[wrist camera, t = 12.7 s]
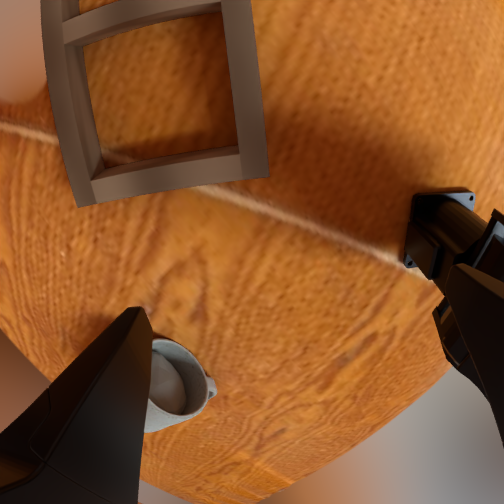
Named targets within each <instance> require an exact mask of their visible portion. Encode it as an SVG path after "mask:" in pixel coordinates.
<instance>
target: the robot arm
mask: <svg viewBox="0 0 504 504" xmlns="http://www.w3.org/2000/svg"><path fill="white" fill-rule="evenodd" d="M470 196H471V197H470ZM469 198H470V199H469ZM418 199H420V201H419V202H417V201H418ZM474 203H475V194H474V193H473V192H472V191H451V192H430V193H417V194H415V195H414V196H413V199H412V206H411V214H410V221H409V223H408V229H407V236H406V242H405V248H404V250H405V254H404V259H403V264H404V266H405V267H406V268H414V267H418V268H419V269H420V270H421V271H422V273H423V274H424V275H425V277H426V278H427V279H428V280H433V282H434V283H435V284H436V286H437V287H438V288H439V289H440V291H441V292H442V293H443V295H444V296H445V297H444V298H443V300H442V301H441V303H440V304H439V305H438V307H436V308H435V309H434V311H433V312H432V314H433V317H434V321H435V324H436V327H437V330H438V334H439V337H440V340H441V344H442V347H443V351H444V353H445V356H446V359H447V360H448V361H449V362H450V363H451V364H452V365H453V366H454V367H455V368H456V369H457V370H458V371H459V372H460V373H461V374H463V375H464V376H466V377H467V378H468V379H470V380H471V381H472V382H473V383H474V384H475V385H476V386H477V387H478V388H479V390H480V391H481V392H482V393H483V395H484V396H485V397H486V399H487V400H488V402H489V403H490V405H491V408H492V411H493V414H494V417H495V420H496V423H497V427H498V430H499V433H500V436H501V439H502V442H503V447H504V215H503V214H502V213H501V212H499V211H498V210H496V209H495V208H494V210H493V212H492V214H491V216H492V217H491V219H490V221H489V223H487V222H485V221H484V220H483V219H482V218H480V217H479V216H478V215H477V214H475V213H474V212H473V208H474ZM409 261H410V262H409ZM408 262H409V263H408ZM152 344H153V330H152V327H151V324H150V322H149V320H148V317H147V315H146V313H145V310H144V309H143V307H141V306H137V307H128V308H127V309H126V310H125V311H124V312H123V313H122V314H120V315H119V316H118V317H117V318H116V319H115V320H114V321H113V322H112V323H111V324H110V325H109V326H108V327H107V328H106V329H105V330H104V331H103V332H102V333H101V334H100V335H99V336H98V337H97V338H96V339H95V340H94V341H93V342H92V343H91V344H90V345H89V346H88V347H87V348H86V349H85V350H84V351H83V352H82V353H81V354H80V355H79V356H78V357H77V358H76V359H75V360H74V361H73V362H72V363H71V364H70V365H69V366H68V367H67V368H66V369H65V370H64V371H63V372H62V373H61V374H60V375H59V376H58V377H57V378H56V379H55V380H54V381H53V382H52V383H51V384H50V386H49V388H47V389H46V390H45V391H44V392H43V393H42V394H41V395H40V396H39V397H38V398H37V399H36V400H35V401H34V402H33V403H32V404H31V405H30V406H29V407H28V408H27V409H26V410H25V411H24V412H23V413H22V414H21V415H20V416H19V417H18V418H17V419H16V420H14V421H13V422H12V423H11V424H10V425H9V426H8V427H7V428H6V429H4V431H2V432H1V433H0V504H138V490H139V477H140V466H141V455H142V446H143V437H144V428H145V420H146V413H147V405H148V398H149V391H150V383H151V364H152Z"/></svg>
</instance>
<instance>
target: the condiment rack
mask: <svg viewBox="0 0 504 504" xmlns="http://www.w3.org/2000/svg"><path fill="white" fill-rule="evenodd" d="M221 11H222V15H223V23H224V32H225V40H226V48H227V56H228V64H229V72H230V80H231V88H232V96H233V105H234V113H235V121H236V129H237V137H238V145H236V146H228V147H221V148H213V149H207V150H200V151H194V152H187V153H181V154H176V155H170V156H164V157H159V158H154V159H149V160H144V161H139V162H134V163H129V164H125V165H120V166H116V167H112V168H107V169H105V166H104V162H103V158H102V153H101V149H100V145H99V140H98V136H97V131H96V126H95V121H94V116H93V111H92V106H91V100H90V95H89V89H88V83H87V76H86V69H85V62H84V54H83V46H85V45H88V44H91V43H93V42H96V41H99V40H102V39H105V38H108V37H111V36H114V35H117V34H120V33H123V32H126V31H130V30H133V29H137V28H141V27H144V26H148V25H152V24H156V23H160V22H165V21H169V20H174V19H179V18H184V17H189V16H195V15H201V14H207V13H214V12H221ZM41 25H42V39H43V50H44V59H45V67H46V75H47V82H48V88H49V94H50V100H51V106H52V111H53V116H54V121H55V126H56V130H57V135H58V139H59V144H60V148H61V152H62V156H63V160H64V163H65V167H66V171H67V174H68V178H69V181H70V185H71V188H72V192H73V195H74V198H75V201H76V204H77V207H78V208H79V207H84V206H89V205H93V204H98V203H103V202H108V201H113V200H118V199H123V198H129V197H134V196H139V195H145V194H151V193H157V192H163V191H169V190H175V189H181V188H188V187H194V186H201V185H208V184H216V183H223V182H231V181H239V180H247V179H256V178H265V177H270V176H269V165H268V154H267V143H266V133H265V123H264V113H263V103H262V94H261V85H260V75H259V66H258V58H257V49H256V41H255V32H254V24H253V16H252V8H251V0H119V1H116V2H113V3H110V4H108V5H105V6H102V7H99V8H96V9H94V10H91V11H89V12H86V13H84V14H81V15H80V13H79V0H41Z"/></svg>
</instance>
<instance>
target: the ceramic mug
mask: <svg viewBox="0 0 504 504" xmlns="http://www.w3.org/2000/svg"><path fill="white" fill-rule="evenodd" d="M216 394H217V389H216V385H215V382H214V380H213V379H212V378H211V377H207V376H206V375H205V372H204V370H203V368H202V366H201V364H200V363H199V362H198V360H197V359H196V358H195V356H194V355H193V354H192V353H190V352H189V351H188V350H187V349H186V348H185V347H183V346H182V345H180V344H178V343H176V342H174V341H172V340H168V339H159V338H157V339H153V344H152V364H151V383H150V391H149V398H148V405H147V413H146V420H145V428H144V433H148V432H155V431H158V430H161V429H163V428H166V427H168V426H171V425H174V424H177V423H180V422H183V421H185V420H188V419H191V418H193V417H194V416H196V415H197V414H199V413H200V412H201V411H202V410H203V408H204V407H205V405H206V403H207V401H208V399H210V398H212V397H214V396H215V395H216Z"/></svg>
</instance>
